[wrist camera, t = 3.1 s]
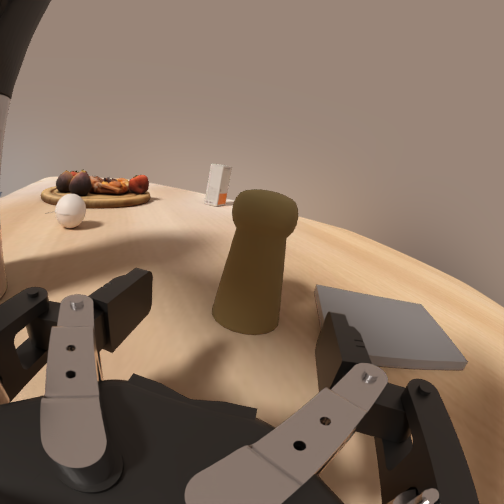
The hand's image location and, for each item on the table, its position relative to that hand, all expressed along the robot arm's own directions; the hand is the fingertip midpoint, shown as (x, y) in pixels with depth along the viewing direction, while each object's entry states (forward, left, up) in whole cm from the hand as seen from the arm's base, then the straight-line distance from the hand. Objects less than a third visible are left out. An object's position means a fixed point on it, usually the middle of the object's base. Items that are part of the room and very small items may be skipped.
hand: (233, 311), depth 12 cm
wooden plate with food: (-48, +50, -7) cm, 70 cm away
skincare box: (-18, +69, -7) cm, 72 cm away
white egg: (-32, +22, -7) cm, 39 cm away
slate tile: (+15, +13, -6) cm, 21 cm away
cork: (0, +11, -7) cm, 13 cm away
